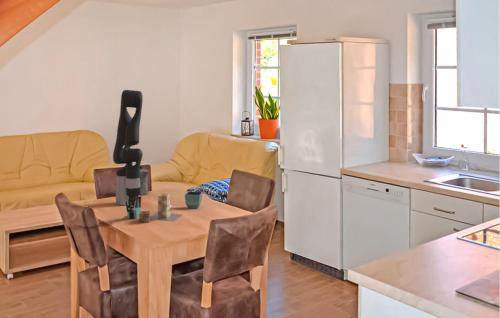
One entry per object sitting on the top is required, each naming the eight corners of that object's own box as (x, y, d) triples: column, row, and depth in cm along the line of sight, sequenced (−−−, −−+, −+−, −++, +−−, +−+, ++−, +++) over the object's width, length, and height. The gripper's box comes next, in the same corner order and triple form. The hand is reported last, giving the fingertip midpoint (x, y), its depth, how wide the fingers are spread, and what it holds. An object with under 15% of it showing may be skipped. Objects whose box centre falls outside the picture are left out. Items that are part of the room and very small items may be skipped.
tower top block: (158, 206, 288) (157, 195, 287) (160, 204, 293) (160, 193, 292) (167, 207, 288) (167, 195, 287) (169, 204, 292) (169, 193, 292)
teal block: (127, 220, 289) (127, 209, 288) (132, 217, 293) (131, 207, 292) (136, 220, 287) (136, 209, 286) (140, 218, 292) (140, 207, 291)
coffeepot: (154, 193, 352) (153, 166, 350) (143, 196, 345) (142, 168, 342) (137, 190, 361) (136, 163, 358) (126, 193, 354) (125, 165, 351)
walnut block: (139, 225, 280) (139, 213, 279) (140, 222, 285) (140, 211, 284) (149, 224, 280) (149, 213, 279) (150, 222, 285) (149, 211, 284)
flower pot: (202, 206, 318) (202, 191, 317) (199, 210, 310) (199, 195, 308) (187, 206, 319) (187, 191, 318) (184, 210, 311) (184, 194, 309)
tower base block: (157, 217, 289) (157, 206, 288) (161, 215, 294) (161, 204, 293) (166, 218, 288) (166, 207, 287) (170, 215, 293) (170, 204, 292)
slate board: (144, 221, 287) (144, 219, 286) (155, 214, 300) (155, 212, 300) (173, 223, 283) (173, 221, 282) (183, 216, 296) (183, 214, 296)
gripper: (132, 183, 295) (133, 214, 298) (120, 188, 282) (121, 220, 284) (145, 184, 294) (146, 215, 296) (133, 189, 280) (134, 221, 282)
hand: (134, 217), depth 290 cm, fingers closed on teal block, 5 cm apart
